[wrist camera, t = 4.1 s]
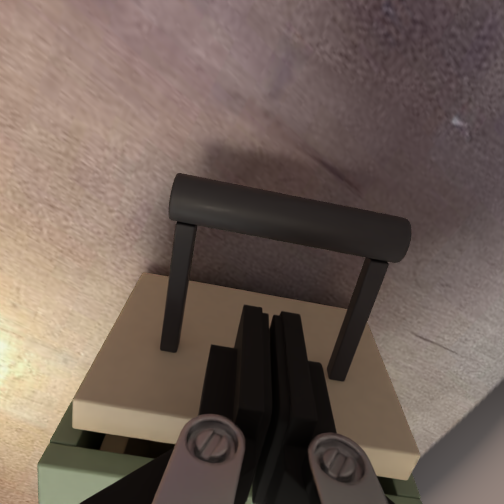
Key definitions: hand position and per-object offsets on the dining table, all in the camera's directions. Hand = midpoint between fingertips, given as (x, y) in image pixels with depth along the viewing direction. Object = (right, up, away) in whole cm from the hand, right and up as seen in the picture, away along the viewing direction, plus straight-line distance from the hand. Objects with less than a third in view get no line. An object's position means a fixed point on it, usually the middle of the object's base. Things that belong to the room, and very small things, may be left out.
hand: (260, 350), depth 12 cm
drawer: (-1, -2, +8) cm, 8 cm away
